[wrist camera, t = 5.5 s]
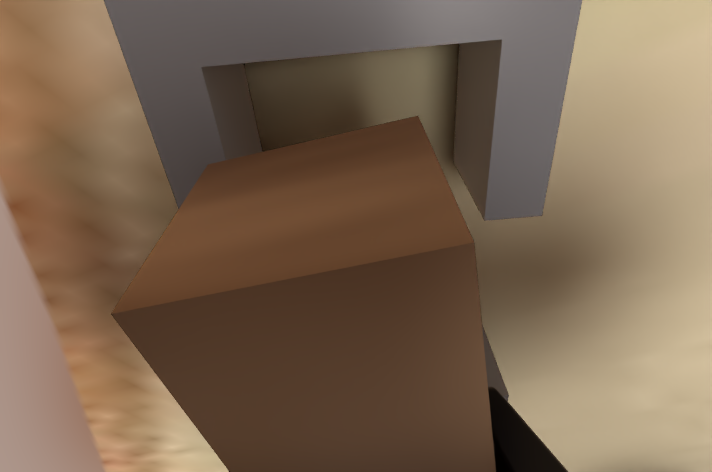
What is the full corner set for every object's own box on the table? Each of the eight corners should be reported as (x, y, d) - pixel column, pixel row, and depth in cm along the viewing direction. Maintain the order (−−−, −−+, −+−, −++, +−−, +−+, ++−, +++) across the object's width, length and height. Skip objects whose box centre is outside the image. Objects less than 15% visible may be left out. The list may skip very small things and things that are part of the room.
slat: (472, 474, 13) (511, 631, 10) (357, 490, 13) (360, 645, 10) (418, 116, 7) (474, 242, 4) (208, 164, 7) (109, 313, 4)
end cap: (167, -20, 9) (100, -9, 7) (521, -55, 9) (592, -57, 6) (224, 181, 12) (191, 244, 9) (498, 158, 11) (542, 215, 9)
